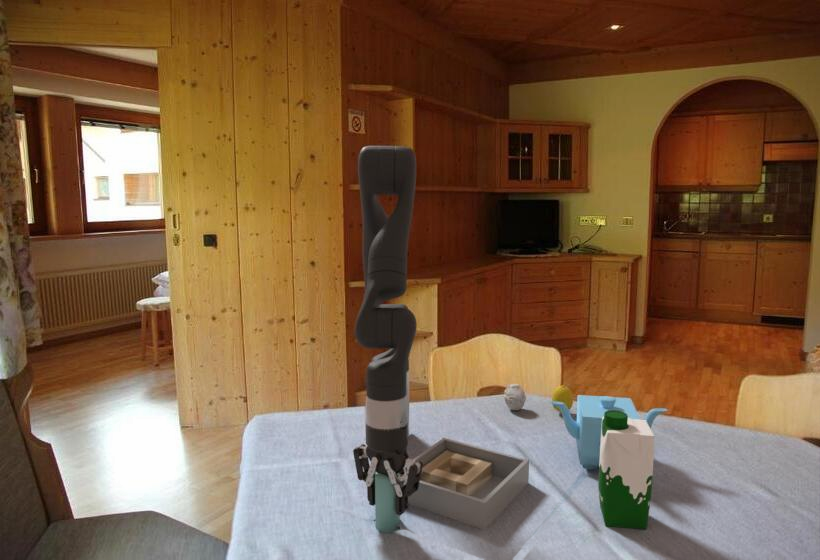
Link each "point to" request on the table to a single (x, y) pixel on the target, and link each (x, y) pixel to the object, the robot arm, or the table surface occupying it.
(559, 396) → the lemon
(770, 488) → the table surface
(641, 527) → the milk carton
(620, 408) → the teakettle
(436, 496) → the open box
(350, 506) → the table surface
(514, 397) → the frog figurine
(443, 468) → the bore block
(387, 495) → the peg
